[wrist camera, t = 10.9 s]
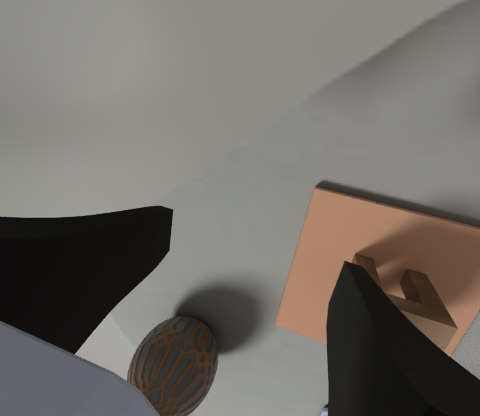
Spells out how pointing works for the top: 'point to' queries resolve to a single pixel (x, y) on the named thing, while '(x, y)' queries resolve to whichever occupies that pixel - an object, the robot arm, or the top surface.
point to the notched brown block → (418, 303)
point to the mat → (379, 259)
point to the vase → (175, 365)
